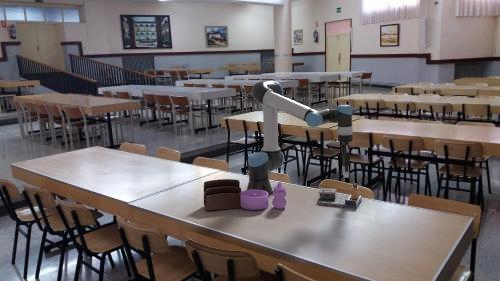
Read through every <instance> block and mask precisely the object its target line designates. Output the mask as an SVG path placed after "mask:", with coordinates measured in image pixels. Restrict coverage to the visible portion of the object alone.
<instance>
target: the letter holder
mask: <svg viewBox="0 0 500 281" xmlns="http://www.w3.org/2000/svg"><path fill="white" fill-rule="evenodd" d="M240 181H241V180H239V179H234V178H233V179H231V178H230V179H229V178H222V179H212V180H206V181H204V182H203V207H204V209H205V211H206V212H207V211H218V210H220V211H222V210H234V209H243V208H242V207H241V201H240V195H242V194H240V192H242V187H241V185H240V184H241V182H240Z"/></svg>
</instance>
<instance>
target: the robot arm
mask: <svg viewBox="0 0 500 281" xmlns="http://www.w3.org/2000/svg"><path fill="white" fill-rule="evenodd" d="M250 92H251V97H252V98H253V100H254V101H256V102H257V103H259V104H260V105H261V106H262V111H263V113H262V117H263V118H262V119H263V123H262V124H263V147H262V148H261V151H257V152H253V153H251V154H250V155H248V159H247V165H248V166H247V167H248V184H247V187H246V190H252V189H255V190H263V191H266V192H268V193H269V195H268V196H270V195H273V187H272V184H271V182H270V175H269V174H270V172H273V171H276V170H278V169H280V168H281V167H282V166H283V165H284V162H285V155H284V154H283V152H282V151H281V150H282V149H281V147H280V146H279V131H278V130H279V128H278V127H279V125H278V124H279V119H278V118H279V117H278V116H279V115H278V113H279V111H281V112H282V113H286V114H288V115H290V116H291V117H295V118H297V119H298V120H301V121H303V122H305V123H306V124H307V126H309V127H311V128H316V127H317V128H318V127H319V126H322V125H326V124H337V128H336V131H337V133H338V135H337V141H338V142H339V143H341V145H340V147H341V159H342V160H341V161H342V167H343V168H342V171H343V173H342V174H343V178H344V179H345V178H346V179H347V178H350V168H349V167H350V164H351V163H350V161H351V158H350V156H351V145H350V143H352V142H353V108H352V106H351V105H350V104H340V105H339V104H338V105H337V106H336V108H319V109H318V108H317V110H315V109H313V108H311V107H309V106H307V105H304V104H302V103H299V102H297V101H295V100H292V99H290V98H288V97H285V96H284V87H283V86H282V84H281V83H280V82H278V81H276V80H266V81H264V80H263V81H258V82H255V84H254V85H253V86H252V88H251V91H250ZM278 110H279V111H278Z"/></svg>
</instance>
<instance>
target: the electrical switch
mask: <svg viewBox="0 0 500 281" xmlns="http://www.w3.org/2000/svg"><path fill="white" fill-rule="evenodd" d="M336 193H337V188H318V192H317V194H318V195H319V199H321V198H325V199H334V197H335V195H337V194H336ZM326 195H329V197H328V196H326Z"/></svg>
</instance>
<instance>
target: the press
mask: <svg viewBox="0 0 500 281" xmlns="http://www.w3.org/2000/svg"><path fill="white" fill-rule="evenodd" d="M326 196H328V197H329V195H326ZM362 200H363V197H362V195H359V198H358V199H351V194H350V195H342V194H335V197H334V199H325V198H320V199H319V201H318V202H317V203H318V204H317V205H319V206H325V207H336V208H345V209H352V210H353V209H356V210H357V209H358V207H359V205H360V204H361V202H362Z"/></svg>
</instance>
